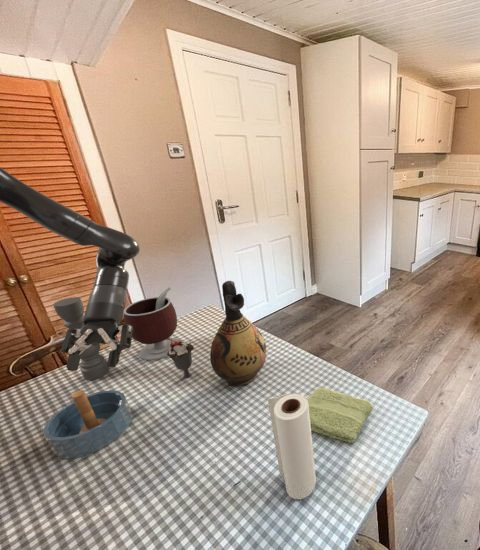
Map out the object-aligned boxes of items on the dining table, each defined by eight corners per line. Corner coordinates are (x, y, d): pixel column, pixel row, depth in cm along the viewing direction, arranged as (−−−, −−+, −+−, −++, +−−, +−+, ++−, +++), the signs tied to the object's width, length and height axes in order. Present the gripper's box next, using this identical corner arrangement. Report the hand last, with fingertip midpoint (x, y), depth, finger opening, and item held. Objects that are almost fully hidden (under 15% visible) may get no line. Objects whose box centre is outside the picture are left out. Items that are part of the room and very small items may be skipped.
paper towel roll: (321, 489, 61) (313, 409, 53) (292, 507, 58) (279, 424, 50) (307, 461, 67) (298, 384, 59) (280, 475, 64) (267, 397, 56)
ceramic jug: (276, 379, 91) (263, 289, 79) (221, 402, 83) (198, 304, 71) (260, 351, 104) (246, 270, 92) (211, 368, 96) (189, 281, 84)
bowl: (37, 468, 66) (24, 446, 63) (79, 415, 79) (70, 396, 76) (115, 453, 69) (105, 432, 66) (143, 405, 82) (136, 386, 79)
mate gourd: (156, 365, 97) (138, 311, 89) (127, 356, 101) (107, 303, 94) (196, 339, 110) (184, 290, 103) (169, 332, 115) (155, 284, 107)
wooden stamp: (75, 442, 70) (56, 404, 66) (89, 424, 75) (71, 387, 71) (101, 437, 72) (84, 399, 67) (113, 420, 76) (97, 383, 72)
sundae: (169, 382, 90) (156, 340, 84) (189, 368, 95) (177, 327, 90) (186, 388, 88) (173, 344, 82) (205, 373, 93) (194, 332, 88)
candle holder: (106, 364, 98) (78, 294, 88) (113, 372, 94) (84, 300, 85) (81, 375, 93) (49, 302, 84) (87, 383, 90) (54, 309, 80)
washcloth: (317, 390, 87) (316, 381, 85) (374, 408, 80) (374, 399, 79) (289, 425, 75) (288, 415, 74) (354, 450, 69) (353, 440, 68)
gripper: (64, 302, 75) (45, 370, 69) (127, 298, 77) (113, 364, 71) (86, 311, 82) (71, 373, 76) (143, 307, 84) (133, 367, 78)
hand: (91, 368), depth 74 cm, fingers open, 8 cm apart
